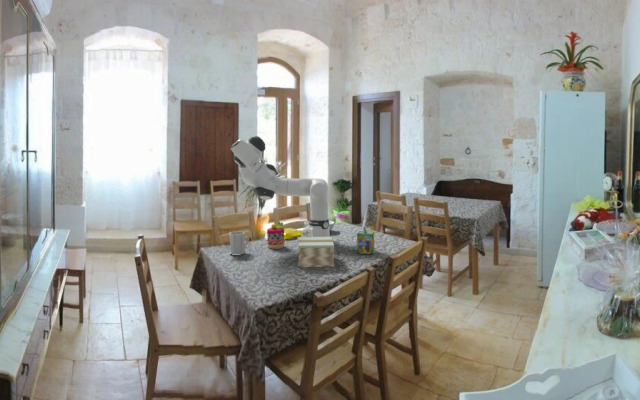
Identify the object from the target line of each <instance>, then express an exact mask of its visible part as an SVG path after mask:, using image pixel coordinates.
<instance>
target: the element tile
mask: <svg viewBox="0 0 640 400" xmlns="http://www.w3.org/2000/svg"><path fill="white" fill-rule="evenodd" d="M283 229H284V239H290V240H292V239H291V238H295V239H297V238H296V237H301V233H302V230H299V229H297V228H293V227H286V228H283Z"/></svg>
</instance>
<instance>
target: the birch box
mask: <svg viewBox="0 0 640 400" xmlns="http://www.w3.org/2000/svg"><path fill="white" fill-rule="evenodd" d="M297 252H298V253H297V254H298V257H297V258H298V265H297V266H298V268H332V267H335V247H334V248H297Z"/></svg>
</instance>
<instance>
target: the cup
mask: <svg viewBox="0 0 640 400" xmlns="http://www.w3.org/2000/svg"><path fill="white" fill-rule="evenodd" d="M228 236H229V246H230V247H229V248H230V250H229V254H230V253H232V254H244V253H245V252H246V249H245V248H246V247H245V246H247V245H248V243H249V236H247V235H246V232H244V231H231V232H229V233H228ZM245 254H246V253H245ZM245 254H244V255H245Z"/></svg>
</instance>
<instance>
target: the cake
mask: <svg viewBox="0 0 640 400" xmlns="http://www.w3.org/2000/svg"><path fill="white" fill-rule="evenodd" d="M283 225H284V222H281V221H277V222H276V223H272V224H271V225H270V226H271V227H269V228H267V230H266V234H267V236H266V237H267V239H266V242H267V248H268V249H270V248H272V249H271V250H279V249H280V248H281V249H283V247H284V248H285V242H286V240H285V239H284V229H285V228H284V226H283Z"/></svg>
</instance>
